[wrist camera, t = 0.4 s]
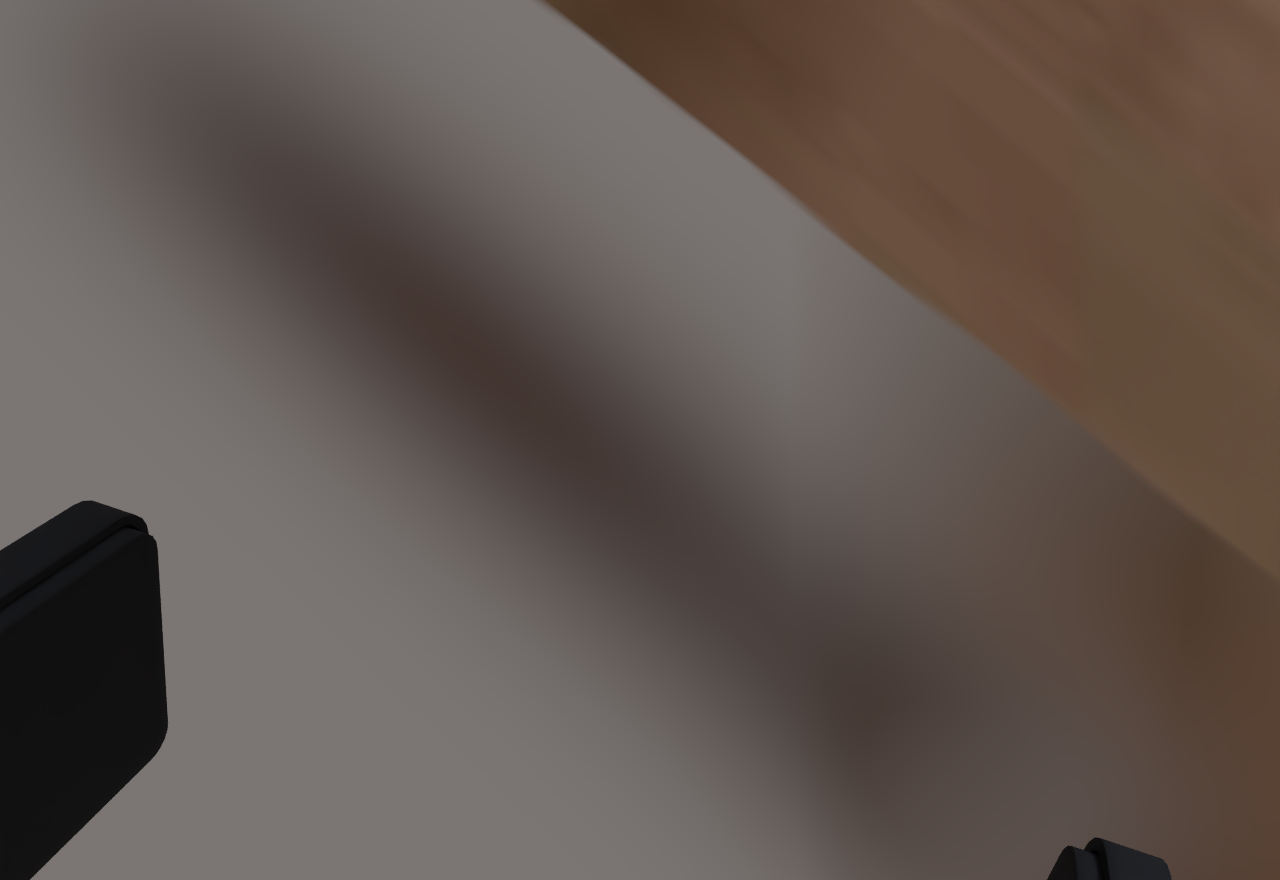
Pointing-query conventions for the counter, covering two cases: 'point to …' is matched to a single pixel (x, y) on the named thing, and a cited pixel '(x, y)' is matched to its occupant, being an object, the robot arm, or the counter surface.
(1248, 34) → the counter surface
